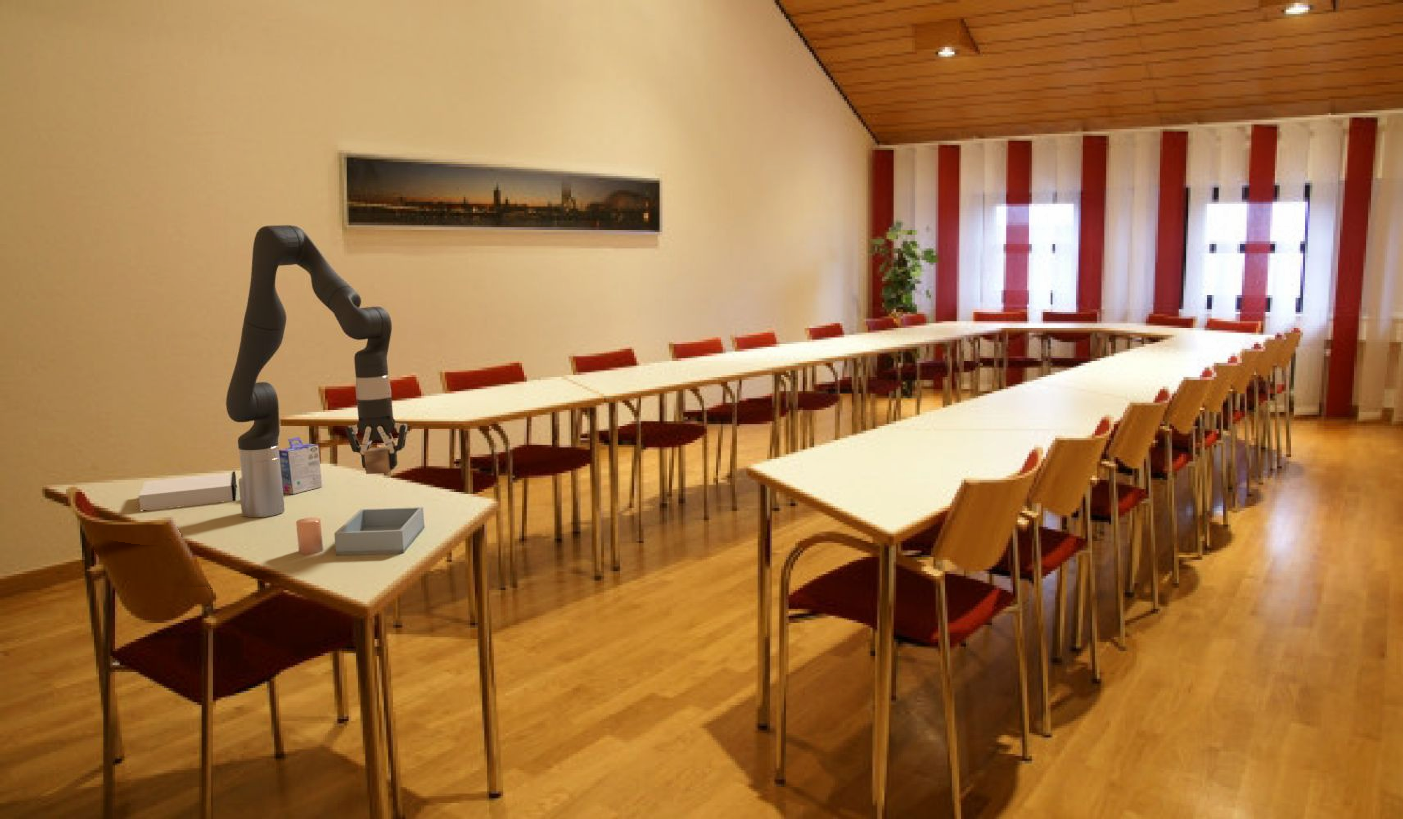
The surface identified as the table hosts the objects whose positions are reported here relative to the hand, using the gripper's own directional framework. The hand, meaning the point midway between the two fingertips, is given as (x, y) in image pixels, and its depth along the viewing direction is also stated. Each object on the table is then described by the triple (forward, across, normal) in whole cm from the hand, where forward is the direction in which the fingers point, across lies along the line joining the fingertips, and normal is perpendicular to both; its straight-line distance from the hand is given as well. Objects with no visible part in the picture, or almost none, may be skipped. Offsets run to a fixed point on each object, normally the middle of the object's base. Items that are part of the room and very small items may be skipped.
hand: (380, 468), depth 230 cm
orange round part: (+16, -14, -10) cm, 23 cm away
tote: (+16, 0, -4) cm, 16 cm away
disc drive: (+15, -64, +42) cm, 78 cm away
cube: (0, 0, 0) cm, 0 cm away
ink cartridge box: (+15, -36, +48) cm, 62 cm away
